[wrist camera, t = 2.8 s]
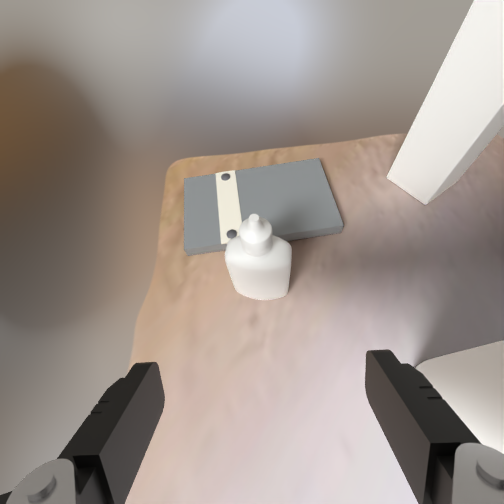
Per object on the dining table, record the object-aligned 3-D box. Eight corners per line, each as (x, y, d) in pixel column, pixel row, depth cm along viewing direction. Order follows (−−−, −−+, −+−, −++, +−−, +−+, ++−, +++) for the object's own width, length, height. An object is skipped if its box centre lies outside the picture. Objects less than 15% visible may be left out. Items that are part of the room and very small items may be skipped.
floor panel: (317, 166, 36) (319, 156, 34) (340, 232, 30) (344, 224, 29) (187, 186, 36) (183, 177, 35) (187, 255, 31) (183, 248, 29)
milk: (424, 206, 31) (658, -94, 12) (384, 177, 34) (524, -107, 15) (457, 182, 33) (713, -123, 14) (416, 156, 35) (581, -130, 16)
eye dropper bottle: (252, 257, 30) (240, 181, 19) (295, 283, 28) (307, 213, 17) (229, 287, 28) (201, 221, 18) (272, 316, 26) (270, 262, 16)
